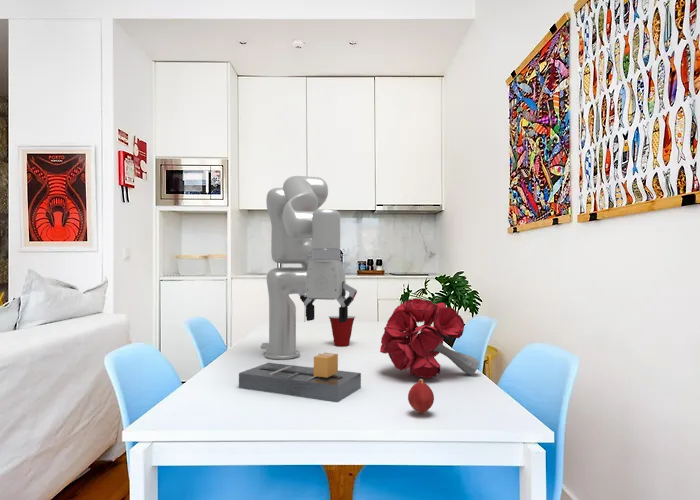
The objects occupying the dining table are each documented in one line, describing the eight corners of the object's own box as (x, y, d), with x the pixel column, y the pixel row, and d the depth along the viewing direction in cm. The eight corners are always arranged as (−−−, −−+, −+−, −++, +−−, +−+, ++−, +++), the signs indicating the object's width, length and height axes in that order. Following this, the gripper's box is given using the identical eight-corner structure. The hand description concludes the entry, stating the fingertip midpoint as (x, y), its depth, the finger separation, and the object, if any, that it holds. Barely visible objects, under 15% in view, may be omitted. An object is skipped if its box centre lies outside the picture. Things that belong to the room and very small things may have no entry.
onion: (405, 410, 111) (405, 375, 111) (430, 409, 112) (430, 375, 112) (411, 418, 105) (411, 382, 105) (436, 418, 106) (436, 381, 106)
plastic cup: (355, 342, 198) (355, 313, 198) (355, 347, 187) (355, 317, 187) (329, 342, 198) (329, 313, 198) (327, 347, 187) (327, 316, 187)
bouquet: (447, 386, 156) (368, 341, 155) (485, 324, 155) (404, 278, 154) (463, 413, 134) (370, 360, 134) (506, 341, 133) (413, 287, 132)
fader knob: (313, 375, 125) (313, 355, 125) (324, 370, 130) (324, 351, 130) (327, 377, 123) (327, 357, 123) (338, 372, 128) (338, 352, 129)
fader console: (238, 387, 130) (238, 371, 130) (268, 376, 143) (268, 361, 143) (337, 402, 117) (337, 384, 117) (360, 387, 130) (360, 371, 130)
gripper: (290, 256, 127) (290, 321, 127) (349, 255, 120) (350, 324, 119) (305, 256, 134) (305, 318, 134) (361, 256, 127) (362, 321, 126)
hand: (326, 321), depth 127 cm, fingers open, 9 cm apart
